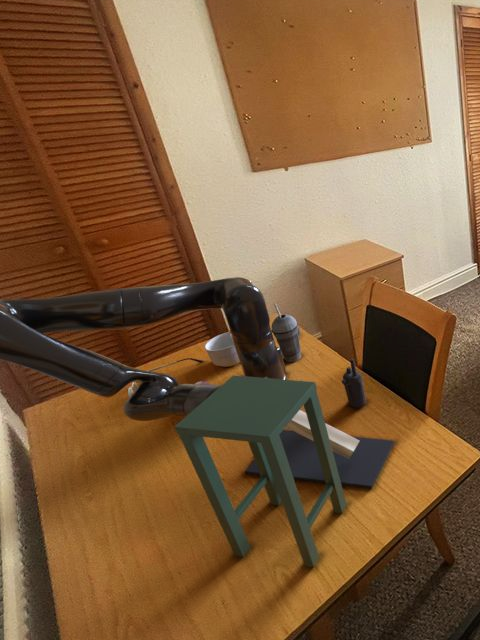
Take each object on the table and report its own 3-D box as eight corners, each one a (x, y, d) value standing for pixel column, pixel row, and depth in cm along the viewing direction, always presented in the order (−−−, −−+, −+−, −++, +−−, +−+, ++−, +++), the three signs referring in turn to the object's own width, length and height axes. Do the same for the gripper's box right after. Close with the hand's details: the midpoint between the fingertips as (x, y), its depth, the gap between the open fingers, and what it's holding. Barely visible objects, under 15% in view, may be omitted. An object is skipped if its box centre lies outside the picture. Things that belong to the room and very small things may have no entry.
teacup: (222, 376, 121) (214, 354, 118) (205, 364, 126) (197, 342, 123) (268, 351, 132) (262, 331, 129) (251, 341, 137) (244, 321, 134)
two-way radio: (369, 402, 110) (360, 358, 104) (356, 413, 106) (346, 367, 100) (355, 395, 112) (345, 351, 106) (342, 406, 109) (331, 361, 103)
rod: (264, 401, 91) (267, 393, 90) (355, 448, 93) (359, 440, 92) (255, 411, 88) (258, 403, 87) (349, 459, 90) (353, 451, 89)
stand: (276, 495, 85) (233, 375, 73) (347, 504, 83) (315, 382, 71) (233, 556, 74) (173, 426, 62) (314, 568, 72) (269, 436, 60)
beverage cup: (295, 366, 125) (279, 310, 117) (275, 363, 126) (258, 308, 118) (310, 352, 131) (297, 298, 123) (291, 349, 133) (276, 296, 125)
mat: (280, 431, 101) (279, 429, 101) (394, 443, 97) (393, 440, 97) (245, 473, 90) (244, 471, 90) (372, 488, 86) (371, 486, 86)
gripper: (183, 413, 83) (259, 421, 81) (234, 369, 96) (301, 375, 94) (194, 440, 86) (268, 448, 84) (243, 394, 99) (308, 400, 97)
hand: (285, 409), depth 89 cm, fingers closed on rod, 3 cm apart
